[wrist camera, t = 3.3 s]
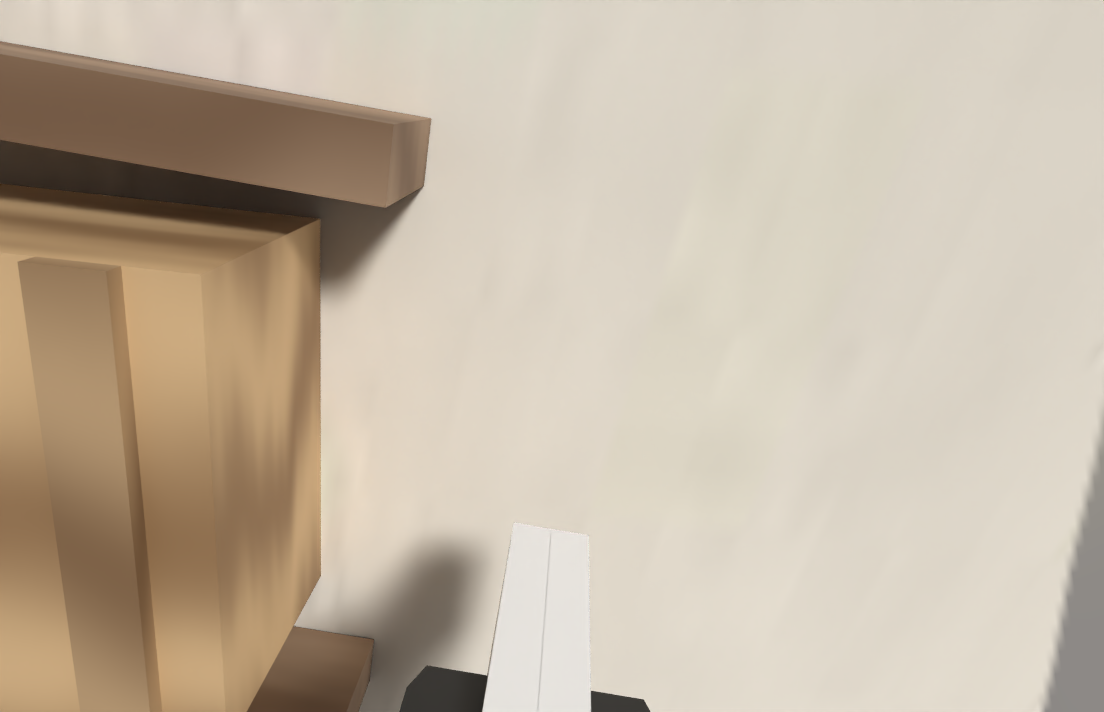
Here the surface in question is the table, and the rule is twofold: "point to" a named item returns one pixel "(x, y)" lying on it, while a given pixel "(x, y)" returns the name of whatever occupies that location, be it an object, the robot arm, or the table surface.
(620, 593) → the table surface
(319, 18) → the table surface
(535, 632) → the robot arm
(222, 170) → the bay
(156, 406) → the crate
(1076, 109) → the table surface
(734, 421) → the table surface
